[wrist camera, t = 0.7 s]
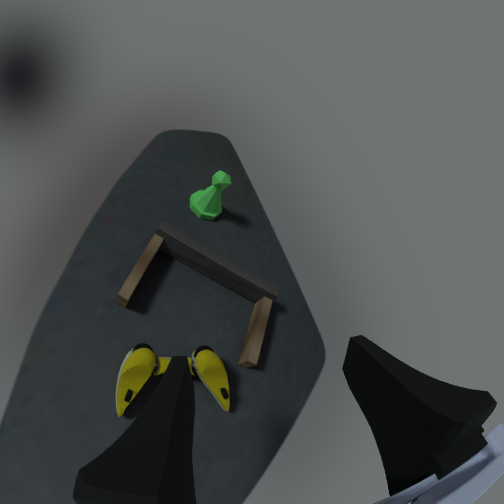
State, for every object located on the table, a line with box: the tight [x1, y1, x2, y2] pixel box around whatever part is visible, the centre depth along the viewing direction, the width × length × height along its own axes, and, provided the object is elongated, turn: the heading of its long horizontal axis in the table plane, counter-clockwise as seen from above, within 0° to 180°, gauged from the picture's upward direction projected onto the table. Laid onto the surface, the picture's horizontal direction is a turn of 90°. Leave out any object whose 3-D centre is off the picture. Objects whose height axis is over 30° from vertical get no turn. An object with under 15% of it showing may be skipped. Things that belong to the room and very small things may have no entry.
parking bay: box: [116, 221, 279, 368], centre depth 26 cm, size 8×14×3 cm, turn 73°
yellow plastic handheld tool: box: [116, 343, 230, 417], centre depth 21 cm, size 10×6×4 cm, turn 100°
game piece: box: [190, 170, 231, 220], centre depth 32 cm, size 4×4×6 cm
